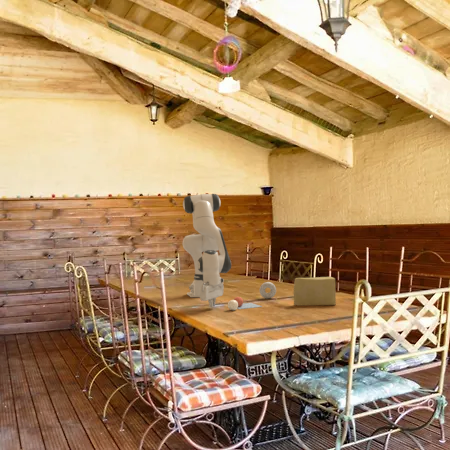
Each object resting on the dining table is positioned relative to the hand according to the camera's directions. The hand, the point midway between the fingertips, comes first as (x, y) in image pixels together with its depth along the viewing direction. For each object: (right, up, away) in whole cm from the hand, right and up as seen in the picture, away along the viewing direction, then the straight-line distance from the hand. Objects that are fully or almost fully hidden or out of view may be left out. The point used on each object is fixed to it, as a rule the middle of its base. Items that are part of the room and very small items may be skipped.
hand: (212, 306), depth 273 cm
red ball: (+14, +2, +6) cm, 15 cm away
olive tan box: (+56, 0, +7) cm, 56 cm away
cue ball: (+11, +1, -4) cm, 12 cm away
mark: (+18, -1, +8) cm, 20 cm away
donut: (+33, -1, +32) cm, 46 cm away
